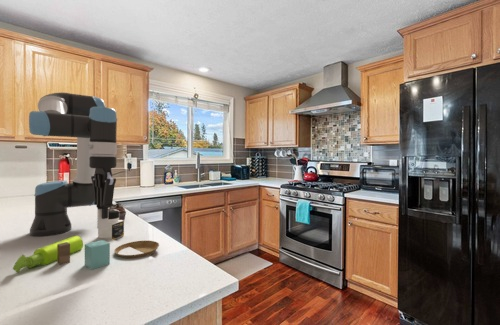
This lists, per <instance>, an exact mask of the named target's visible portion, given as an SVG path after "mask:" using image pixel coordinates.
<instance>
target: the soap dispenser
mask: <svg viewBox="0 0 500 325" xmlns="http://www.w3.org/2000/svg"><path fill="white" fill-rule="evenodd" d="M65 242H68V243H70V255H72V254H74V253H76V252H79V251H82V249H83V247H84V241H83V239H82V238H81V237H80V236H79V235H73V236H70V237H68V238H65V239H62V240H58V241H57V242H54V243H51V244H48V245H45V246H42V247H39V248H37V249H35V250H34V251H33V254H32V255H29V256H26V255H25V254H21V255H20V256H19V258H18V259H17V261H15V264H14V265H13V267H12V270H14V272H16V273H20V271H21V270H22V269H24V268H29V269H31V268H33V267H36V266H39V265H41V266H42V265H45V266H46V265H48V264H52V263H53V262H55V261H57V244H61V243H65Z"/></svg>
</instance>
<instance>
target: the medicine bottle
mask: <svg viewBox="0 0 500 325" xmlns="http://www.w3.org/2000/svg"><path fill="white" fill-rule="evenodd" d="M118 219H119V211H118V210H108V228H103V229H98V228H97V238H99V239H100V238H101V239H112V240H113V241H115V240H116V239H120V238H122V237H125V220H118Z"/></svg>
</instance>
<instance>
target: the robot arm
mask: <svg viewBox="0 0 500 325" xmlns="http://www.w3.org/2000/svg"><path fill="white" fill-rule="evenodd" d="M37 109H38V110H32V111H30V112H29V115H28V127H29V128H28V129H29V133H30V134H31V135H33V136H42V137H60V138H61V137H66V138H67V137H68V138H76V176H75V177H74V178H73V179H72V182H70V183H68V181H67V180H55V181H50V182H48V181H47V182H43V183H40V184H37V185H36V186H35V188H34V189H35V190H34V195H33V196H34V218H33V221H32V223H31V225H30V228H29V236H32V237H45V236H47V237H48V236H54V235H58V234H59V235H60V234H63V233H66V232H69V231H71V230H72V223H71V219H70V218H69V214H68V208H75V207H87V206H89V207H91V206H96V208H97V219H96V220H97V222H96V223H97V230H98V229H103V228H108V209H109V207H112V204H113V202H114V192H115V184H117V183H116V182H117V179H116V178H115V177H113V172H112V169H115V168H117V157H116V156H115V155H118V154H117V153H118V152H117V151H118V143H117V127H118V126H117V125H118V124H117V122H118V118H117V111H116V110H115V109H114V108H112V107H106V104H105V101H104V100H103V99H102V98H100V97H97V96H92V95H91V96H90V95H84V94H78V93H77V94H76V93H70V92H54V93H48V94H46V95H44V96H42V97H40V99H39V100H38V103H37Z"/></svg>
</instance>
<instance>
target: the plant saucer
mask: <svg viewBox="0 0 500 325" xmlns="http://www.w3.org/2000/svg"><path fill="white" fill-rule="evenodd" d="M159 246H160V244H159V242H157V241H154V240H136V241H131V242H127V243H123V244H121V245H119V246H117V247H116V248H115V249H114V253H115V254H116V255H117V256H118V257H120V258H125V259H135V258H143V257H146V256H151V255H153V254H154V253H155V252H156V251H157V250H158V248H159ZM126 248H131V249H132V250H136V251H139V252H140V253H137V254H120V253H119V252H121V251H122V250H124V249H126Z"/></svg>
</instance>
